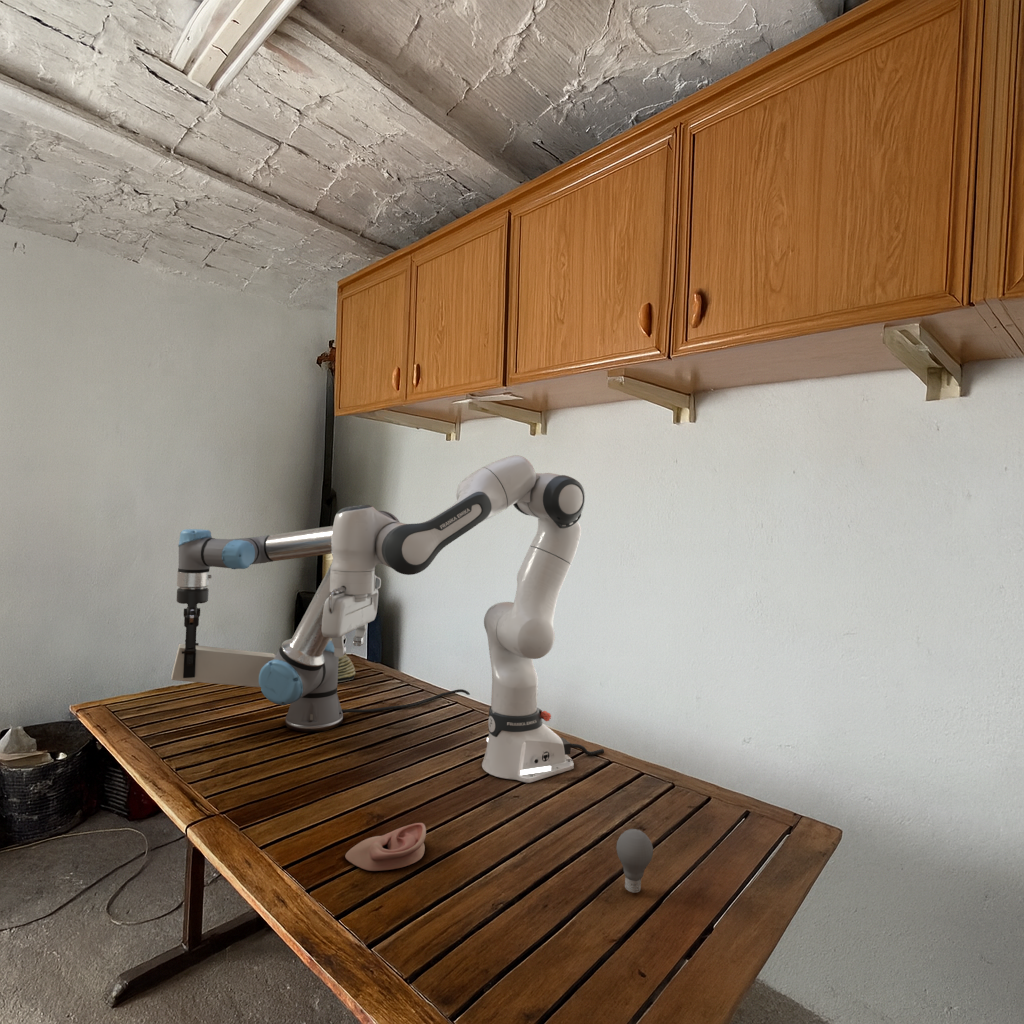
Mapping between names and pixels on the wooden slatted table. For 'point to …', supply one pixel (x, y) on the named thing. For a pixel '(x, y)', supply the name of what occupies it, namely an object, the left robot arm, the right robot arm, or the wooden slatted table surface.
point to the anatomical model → (390, 849)
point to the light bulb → (634, 857)
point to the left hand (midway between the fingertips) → (189, 674)
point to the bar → (223, 666)
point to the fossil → (345, 668)
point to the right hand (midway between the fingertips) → (349, 650)
